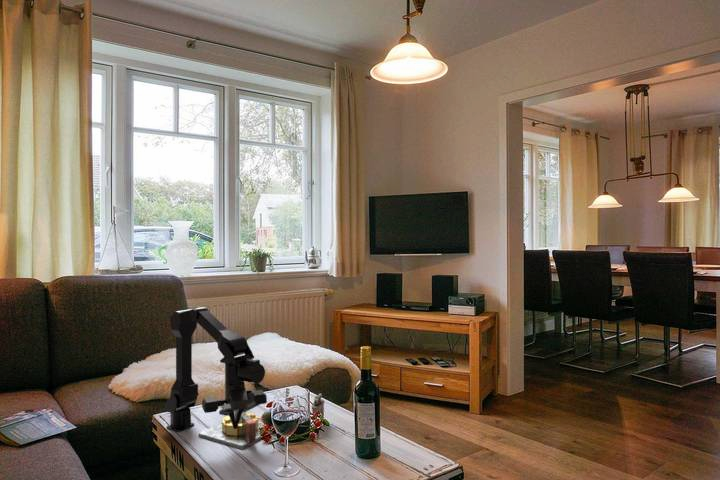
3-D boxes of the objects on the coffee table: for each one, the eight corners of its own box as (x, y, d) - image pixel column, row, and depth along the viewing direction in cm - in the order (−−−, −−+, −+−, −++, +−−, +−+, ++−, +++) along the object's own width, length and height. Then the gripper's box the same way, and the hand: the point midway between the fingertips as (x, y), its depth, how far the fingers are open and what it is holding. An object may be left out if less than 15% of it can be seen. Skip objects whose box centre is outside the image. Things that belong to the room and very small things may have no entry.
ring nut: (219, 426, 162) (218, 408, 162) (251, 419, 167) (251, 402, 167) (234, 447, 146) (234, 427, 146) (269, 439, 151) (269, 419, 151)
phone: (260, 401, 187) (234, 414, 174) (260, 404, 187) (234, 417, 174) (244, 398, 191) (217, 411, 177) (244, 401, 191) (217, 414, 177)
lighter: (319, 430, 161) (319, 400, 161) (309, 429, 162) (309, 399, 162) (326, 421, 169) (326, 392, 169) (316, 420, 170) (316, 391, 170)
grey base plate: (198, 436, 157) (198, 417, 157) (238, 417, 172) (238, 401, 172) (242, 449, 147) (242, 429, 147) (280, 428, 163) (280, 410, 163)
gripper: (207, 390, 138) (207, 444, 139) (271, 381, 147) (271, 432, 147) (201, 379, 148) (202, 430, 149) (261, 371, 157) (262, 419, 157)
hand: (235, 428), depth 150 cm, fingers closed
